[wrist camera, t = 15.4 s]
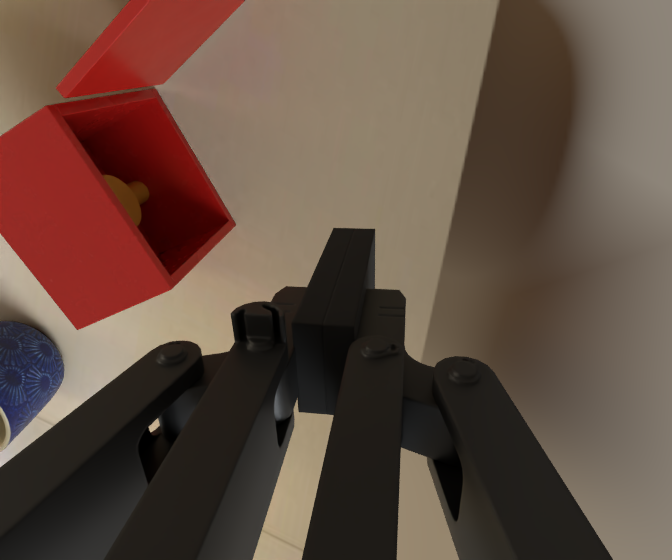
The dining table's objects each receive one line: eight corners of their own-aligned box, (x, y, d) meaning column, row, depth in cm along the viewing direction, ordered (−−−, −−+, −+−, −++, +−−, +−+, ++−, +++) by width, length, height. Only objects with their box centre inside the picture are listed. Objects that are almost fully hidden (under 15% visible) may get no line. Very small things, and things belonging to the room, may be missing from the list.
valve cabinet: (155, 88, 41) (45, 105, 29) (236, 224, 46) (171, 289, 34) (78, 135, 44) (-52, 169, 32) (161, 259, 49) (77, 330, 37)
